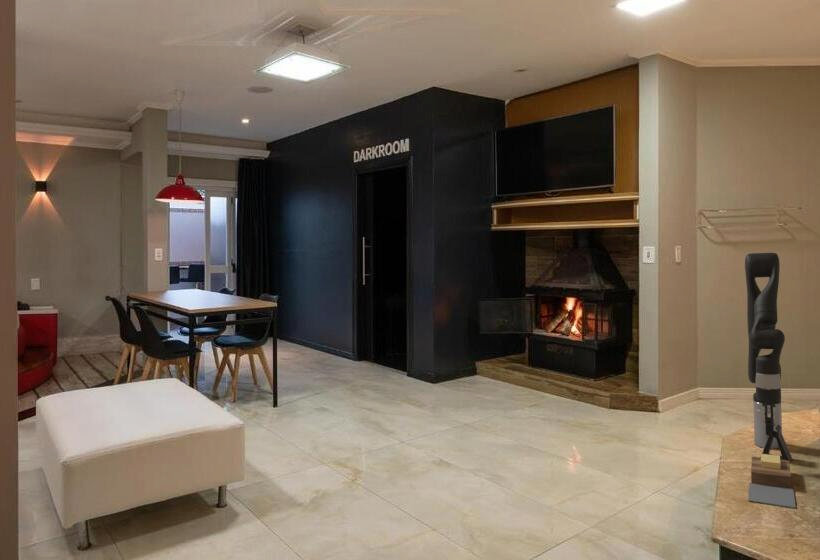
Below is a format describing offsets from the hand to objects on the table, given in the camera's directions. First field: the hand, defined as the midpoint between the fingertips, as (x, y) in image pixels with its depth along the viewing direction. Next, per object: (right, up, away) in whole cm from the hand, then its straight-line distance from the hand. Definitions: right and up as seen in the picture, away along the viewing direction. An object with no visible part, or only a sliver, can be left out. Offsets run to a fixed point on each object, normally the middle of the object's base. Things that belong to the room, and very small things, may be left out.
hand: (769, 435), depth 204 cm
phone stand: (+7, -11, +8) cm, 16 cm away
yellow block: (-4, -8, -8) cm, 12 cm away
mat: (-14, -13, -23) cm, 29 cm away
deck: (-5, -12, -9) cm, 16 cm away
